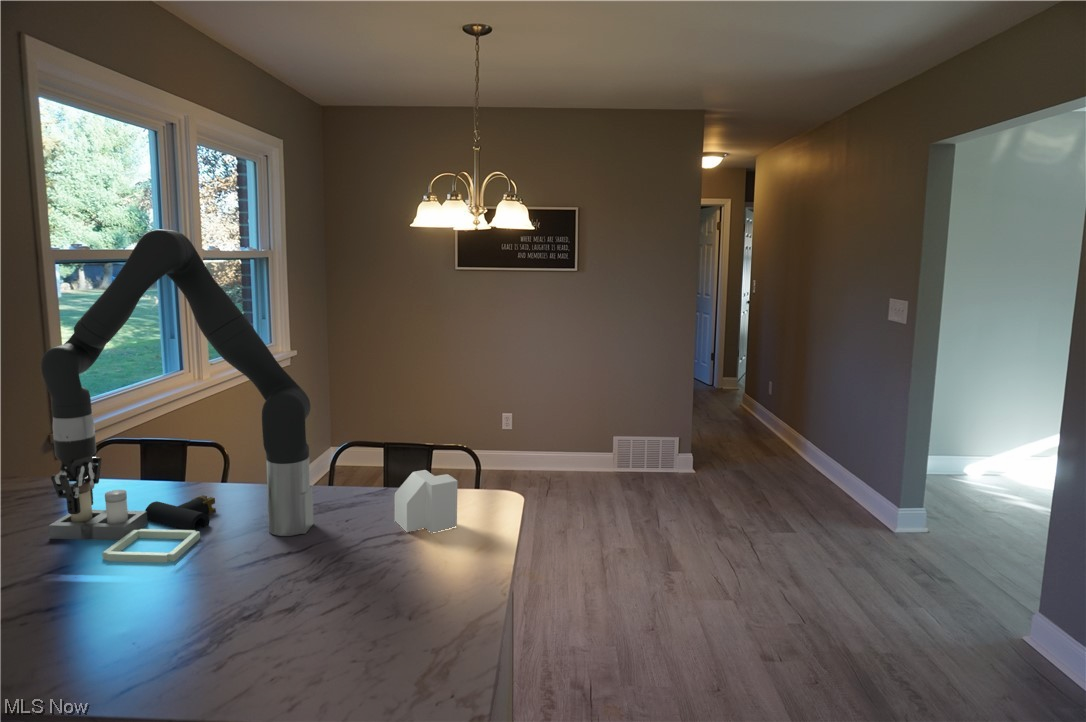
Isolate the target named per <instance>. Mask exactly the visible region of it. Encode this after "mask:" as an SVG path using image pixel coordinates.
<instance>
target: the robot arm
mask: <svg viewBox="0 0 1086 722" xmlns="http://www.w3.org/2000/svg"><path fill="white" fill-rule="evenodd" d="M165 275H166V276H168V278H170V280H171V281H172V282H173V283H174V284H175V286H176V287H177V288H178V289H179V290H180V291H181V292H182V294H183V295H184V297H185V298H186V300H187V302H188V305H189V306H190V309H191V312H192V314H193V317H194V319H195V321H196V324H197V325H198V328H199V329H200V331H201V333H202V334H203V336H204V337H205V338H206V340H207V341H208V342H209V344H210V345H211V347H212V348H213V349H214V351H216V352H217V354H218V355H219V356H220V357H221V358H222V359H223V360H224V361H226V362H227V363H228V364H229V365H230V366H231V367H233V368H234V369H236V370H237V371H239V372H240V373H242V375H243V376H245V377H246V378H247V379H248V380H249V381H250V382H251V383H252V384H253V385H254V386H255V387H256V388H257V390H258V392H259V394H260V395H261V396H262V398H263V399H264V403H263V405H262V410H261V427H262V443H263V447H264V451H265V455H266V457H265V458H266V460H265V461H266V485H267V488H266V489H267V490H266V491H267V513H268V514H267V515H268V517H267V518H268V520H267V523H268V532H269V533H270V534H271V535H274V536H278V537H291V536H292V537H293V536H296V535H304V534H307V532H309V530H310V529H311V528H312V526H313V525H314V522H315V521H314V489H313V487H314V486H313V485H311V483H310V480H311V479H310V447H309V444H308V443H307V433H306V429H307V428H306V419H307V417H308V416H309V414H310V412H311V401H310V398H309V396H308V394H307V393H306V392H305V391H304V390H303V388H301V386H300V385H299V384H298V383H297V382H296V381H295V380H294V379H293V378H292V377H291V375H289V373H287V372H286V371H285V369H283V367H282V366H281V365H280V364H279V362H278V361H277V359H276V358H275V357H274V355H273V353H272V352H271V351H270V349H269V348H268V347H267V344H266V343H265V342H264V341H263V339H262V338H261V336H260V335H259V334H258V333H257V331H256V329H255V328H254V326H253V325H252V324H251V323H250V322H249V320H248V319H247V317H246V316H245V315H244V314H243V312H242V311H241V310H240V309H239V308H238V306H237V304H235V303H234V301H233V300H232V299H231V298H230V296H229V295H228V293H227V292H225V290H224V289H223V288H222V287H221V285H220V284H219V283H218V282H217V281H216V280H215V279H214V276H212V273H211V272H210V271H209V269H208V267H207V266H206V265H205V263H204V261H203V259H202V257H201V256H200V254H199V253H198V251H197V250H196V248H195V246H194V245H193V243H192V241H191V240H190V239H189V238H188V237H187V236H186V235H185V234H183V233H181V232H180V231H177V230H172V229H161V228H159V229H153V230H149V231H147V232H146V233H144V234H143V235H142V236H141V237H140V239H139V240H138V242H137V243H136V245H135V246H134V248H133V250H132V251H131V253H130V255H129V256H128V258H127V259H126V261H125V263H124V264H123V266H122V268H121V269H120V270H119V272H118V273H117V275H116V276H115V277H114V279H113V280H112V281H111V283H110V284H109V285H108V287H107V288H106V289H105V290H104V291H103V293H102V294H101V295H99V298H97V300H95V302H94V303H93V304H92V305H91V306H90V307H89V308H88V309H87V310H86V311H85V312H84V314H83V315H82V316H81V317H80V318H79V319H78V320H77V322H76V323H75V325H74V327H73V334H72V335H71V336H70V337H69V338H68V339H67V341H65V343H63V344H60V345H58V346H54V347H51V348H49V349H48V350H46V351H45V353H44V354H43V356H42V358H41V364H40V367H41V368H40V369H41V375H42V377H43V379H44V383H45V386H46V389H47V391H48V393H49V396H50V398H51V412H52V426H51V427H52V436H53V447H54V457H55V458H56V459H57V460H59V461H60V469H59V470H60V471H59V472H58V473H57V474H52V475H51V477H50V480H51V482H52V485H53V487H54V490H55V493H56V495H57V498H59V499H65V500H66V507H67V514H78V513H80V502H79V497H78V496H79V487H81V486H82V481H87V482H90V493H91V504H92V506H93V505H94V495H93V494H94V493H93V490H94V488H95V485H97V484H99V482H100V475H101V468H102V457H101V456H100V457H99V456H94V455H96V453H97V442H96V430H95V422H94V421H95V420H94V418H93V413H92V400H91V394H90V391H89V389H88V388H86V387H84V386H82V382H81V377H80V375H81V374H82V373H83V374H84V373H85V372H86V371H88V370H89V369H90V368H91V367H92V366H93V365H94V364H95V363H96V361H97V360H98V359H99V357H100V356H101V354H102V353H103V350H104V348H105V347H106V346H107V344H108V343H109V342H110V341H111V340H112V339H113V338H114V337H115V336H116V335H117V333H118V332H119V331H120V330H121V329H122V328H123V326H125V324H126V323H128V320H129V319H130V318H131V315H132V314H133V313H134V311H135V309H136V306H137V305H138V303H139V301H140V300H141V299H142V297H143V296H144V295H145V293H146V292H147V291H148V290H149V289H150V288H151V287H152V286H153V285H154V284H155V283H156V282H158V281H159V280H160V279H161V278H162V277H164V276H165ZM75 482H76V483H75ZM71 487H73V488H74V490H73V492H72V490H71Z"/></svg>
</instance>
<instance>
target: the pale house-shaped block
mask: <svg viewBox="0 0 1086 722" xmlns="http://www.w3.org/2000/svg"><path fill="white" fill-rule="evenodd" d="M458 483H459V482H458V480H457V479H456V478H454V477H453V476H452V475H449V474H448V473H447V474H439V475H434V474H432V473H430V471H428V470H426V469H423V470H417V471H412V472H411V474H410V475H409V476H407V478H406V479H405V480H404V482H403V483H402V484H401V485H400V486H399V488H398V489H396V491H395V492H394V522H395V521H396V522H397V523H398V524H399V525H400V526H401V527H402V528H403V529H404V530H405V531H406V532H409V531H413V530H418V529H422V528H426V529H427V530H428V531H430V533H433V532H438V531H441V530H445V529H449V528H452V527H455V526H458ZM401 527H400V528H401ZM402 528H401V529H402ZM403 529H402V530H403ZM426 529H425V530H426ZM404 530H403V531H404ZM427 530H426V531H427ZM405 531H404V532H405ZM428 531H427V532H428ZM406 532H405V533H406ZM430 533H429V534H430Z"/></svg>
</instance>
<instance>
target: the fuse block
mask: <svg viewBox="0 0 1086 722" xmlns="http://www.w3.org/2000/svg"><path fill="white" fill-rule="evenodd" d="M92 515H93V519H91V520H89V521H88V522H86V523H72V522H71V514H69V513H67V514H65V515H64V516H62V517H60V518H58V519H57V520H56V521H54V522H52V523H51V524H48V530H49V531H48V532H49V539H50V540H51V539H52V540H53V539H54V540H56V539H57V540H93V541H95V540H96V541H97V540H98V541H119V540H120V539H122V538H123V537H125V536H126V535H127V534H129V533H130V532H131V531H133V530H140V529H143V528H144V527H145V526H147V525H148V522H149V521H147V511H145V510H128V521H126V522H125V523H123V524H111V523H107V515H106V509H92Z"/></svg>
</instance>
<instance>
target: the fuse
mask: <svg viewBox="0 0 1086 722" xmlns="http://www.w3.org/2000/svg"><path fill="white" fill-rule="evenodd" d="M127 494H128V493H127V490H126V489H113V490H109V491H107V492H105V493H104V501H105V510H106V515H107V523H111V524H123V523H125V522H126V521H128V511H129V510H128V497H127Z"/></svg>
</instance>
